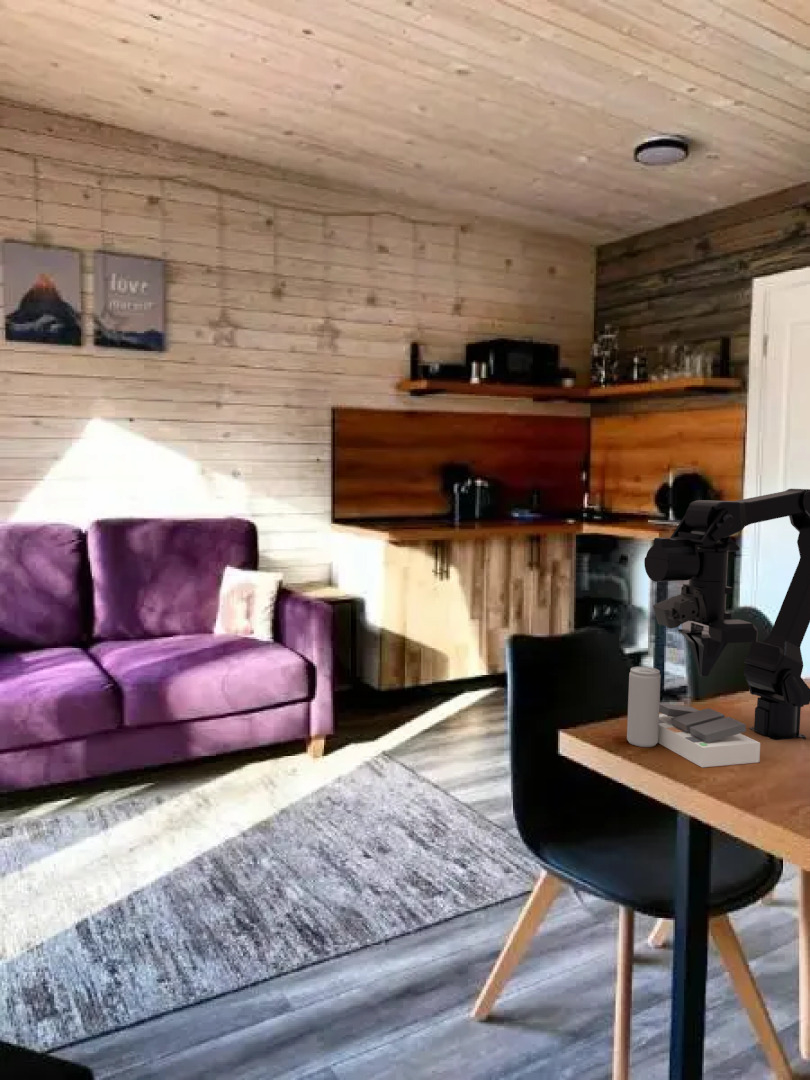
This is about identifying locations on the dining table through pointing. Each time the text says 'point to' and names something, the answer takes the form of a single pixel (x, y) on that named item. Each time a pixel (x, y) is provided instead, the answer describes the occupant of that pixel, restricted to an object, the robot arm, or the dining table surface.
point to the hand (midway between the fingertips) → (703, 675)
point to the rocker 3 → (717, 729)
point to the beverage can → (643, 706)
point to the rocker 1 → (675, 709)
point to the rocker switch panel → (707, 746)
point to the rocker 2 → (696, 719)
